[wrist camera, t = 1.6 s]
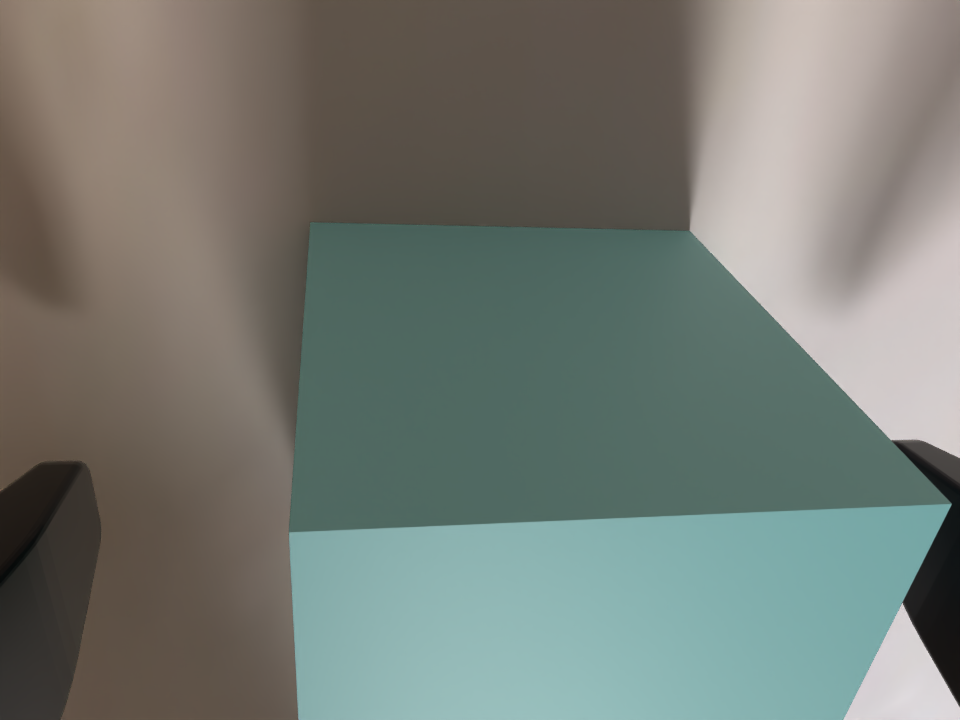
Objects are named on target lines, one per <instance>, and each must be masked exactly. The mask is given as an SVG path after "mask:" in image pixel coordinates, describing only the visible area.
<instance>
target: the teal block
mask: <svg viewBox="0 0 960 720" xmlns="http://www.w3.org/2000/svg"><path fill="white" fill-rule="evenodd" d="M951 505H952V503H951V502H950V501H949V500H948V499H947V498H946V497H945V496H944V495H943V494H942V493H941V492H940V491H939V490H938V489H937V488H936V487H935V486H934V485H933V484H932V483H931V482H930V481H929V480H928V478H927V477H926V476H925V475H924V474H923V473H922V472H921V471H920V470H919V469H918V468H917V467H916V466H915V465H914V464H913V463H912V462H911V461H910V460H909V459H908V458H907V457H906V456H905V455H904V454H903V452H902V451H901V450H900V449H899V448H898V447H897V446H896V445H895V444H894V443H893V442H892V441H891V440H890V439H889V438H888V437H887V436H886V435H885V434H884V433H883V432H882V431H881V430H880V429H879V427H878V426H877V425H876V424H875V423H874V422H873V421H872V420H871V419H870V418H869V417H868V416H867V415H866V414H865V413H864V412H863V411H862V410H861V409H860V408H859V407H858V406H857V405H856V404H855V403H854V401H853V400H852V399H851V398H850V397H849V396H848V395H847V394H846V393H845V392H844V391H843V390H842V389H841V388H840V387H839V386H838V385H837V384H836V383H835V382H834V381H833V380H832V379H831V378H830V376H829V375H828V374H827V373H826V372H825V371H824V370H823V369H822V368H821V367H820V366H819V365H818V364H817V363H816V362H815V361H814V360H813V359H812V358H811V357H810V356H809V355H808V354H807V353H806V352H805V350H804V349H803V348H802V347H801V346H800V345H799V344H798V343H797V342H796V341H795V340H794V339H793V338H792V337H791V336H790V335H789V334H788V333H787V332H786V331H785V330H784V329H783V328H782V327H781V325H780V324H779V323H778V322H777V321H776V320H775V319H774V318H773V317H772V316H771V315H770V314H769V313H768V312H767V311H766V310H765V309H764V308H763V307H762V306H761V305H760V304H759V303H758V302H757V301H756V299H755V298H754V297H753V296H752V295H751V294H750V293H749V292H748V291H747V290H746V289H745V288H744V287H743V286H742V285H741V284H740V283H739V282H738V281H737V280H736V279H735V278H734V277H733V276H732V274H731V273H730V272H729V271H728V270H727V269H726V268H725V267H724V266H723V265H722V264H721V263H720V262H719V261H718V260H717V259H716V258H715V257H714V256H713V255H712V254H711V253H710V252H709V251H708V249H707V248H706V247H705V246H704V245H703V244H702V243H701V242H700V241H699V240H698V239H697V238H696V237H695V236H694V235H693V234H692V233H691V232H690V231H677V230H632V229H587V228H543V227H498V226H453V225H409V224H364V223H319V222H310V234H309V249H308V263H307V277H306V292H305V306H304V321H303V335H302V349H301V364H300V378H299V393H298V407H297V422H296V436H295V450H294V465H293V479H292V494H291V508H290V522H289V546H290V565H291V585H292V604H293V624H294V643H295V663H296V683H297V702H298V720H843V719H844V717H845V715H846V713H847V711H848V709H849V707H850V705H851V703H852V701H853V699H854V697H855V695H856V693H857V691H858V689H859V687H860V685H861V683H862V681H863V679H864V677H865V675H866V673H867V672H868V670H869V668H870V666H871V664H872V662H873V660H874V658H875V656H876V654H877V652H878V650H879V648H880V646H881V644H882V642H883V640H884V638H885V636H886V634H887V632H888V630H889V628H890V626H891V624H892V622H893V620H894V618H895V616H896V614H897V612H898V610H899V608H900V606H901V604H902V602H903V600H904V598H905V596H906V594H907V592H908V590H909V588H910V586H911V584H912V582H913V580H914V578H915V576H916V574H917V572H918V570H919V568H920V566H921V564H922V562H923V560H924V558H925V556H926V554H927V552H928V550H929V548H930V546H931V544H932V542H933V540H934V538H935V537H936V535H937V533H938V531H939V529H940V527H941V525H942V523H943V521H944V519H945V517H946V515H947V513H948V511H949V509H950V507H951Z"/></svg>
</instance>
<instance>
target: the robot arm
mask: <svg viewBox="0 0 960 720" xmlns="http://www.w3.org/2000/svg"><path fill="white" fill-rule="evenodd" d="M891 441H892V442H893V443H894V444H895V445H896V446H897V447H898V448H899V449H900V450H901V451H902V452H903V454H904V455H905V456H906V457H907V458H908V459H909V460H910V461H911V462H912V463H913V464H914V465H915V466H916V467H917V468H918V469H919V470H920V471H921V472H922V473H923V474H924V475H925V476H926V477H927V478H928V480H929V481H930V482H931V483H932V484H933V485H934V486H935V487H936V488H937V489H938V490H939V491H940V492H941V493H942V494H943V495H944V496H945V497H946V498H947V499H948V500H949V501H950V502H951V503H952V505H951V507H950V509H949V511H948V513H947V515H946V517H945V519H944V521H943V523H942V525H941V527H940V529H939V531H938V533H937V535H936V537H935V538H934V540H933V542H932V544H931V546H930V548H929V550H928V552H927V554H926V556H925V558H924V560H923V562H922V564H921V566H920V568H919V570H918V572H917V574H916V576H915V578H914V580H913V582H912V584H911V586H910V588H909V590H908V592H907V594H906V596H905V598H904V600H903V602H902V603H903V605H904V607H905V609H906V611H907V613H908V615H909V618H910V620H911V622H912V624H913V626H914V627H915V629H916V631H917V633H918V635H919V637H920V638H921V640H922V642H923V644H924V646H925V647H926V649H927V651H928V653H929V654H930V656H931V658H932V660H933V661H934V663H935V665H936V667H937V668H938V670H939V672H940V674H941V675H942V677H943V679H944V681H945V682H946V684H947V686H948V688H949V689H950V691H951V693H952V695H953V696H954V698H955V700H956V702H957V703H958V705H959V707H960V458H958V457H956V456H954V455H952V454H950V453H947V452H945V451H943V450H941V449H939V448H937V447H935V446H933V445H931V444H928V443H926V442H924V441H920V440H891ZM100 540H101V522H100V517H99V512H98V507H97V502H96V498H95V493H94V488H93V483H92V478H91V474H90V470H89V468H88V467H87V465H86V464H85V463H83V462H82V461H47V462H42V463H40V464H38V465H36V466H35V467H33V468H32V469H30V470H29V471H28V472H26V473H25V474H24V475H22V476H21V477H20V478H18V479H17V480H15V481H14V482H13V483H11V484H10V485H9V486H7V487H6V488H5V489H3V490H2V491H0V720H61V717H62V714H63V711H64V708H65V705H66V702H67V698H68V695H69V692H70V688H71V685H72V681H73V677H74V673H75V668H76V664H77V659H78V654H79V649H80V644H81V639H82V634H83V629H84V624H85V618H86V613H87V608H88V603H89V598H90V593H91V588H92V583H93V578H94V573H95V568H96V563H97V557H98V552H99V547H100Z"/></svg>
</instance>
